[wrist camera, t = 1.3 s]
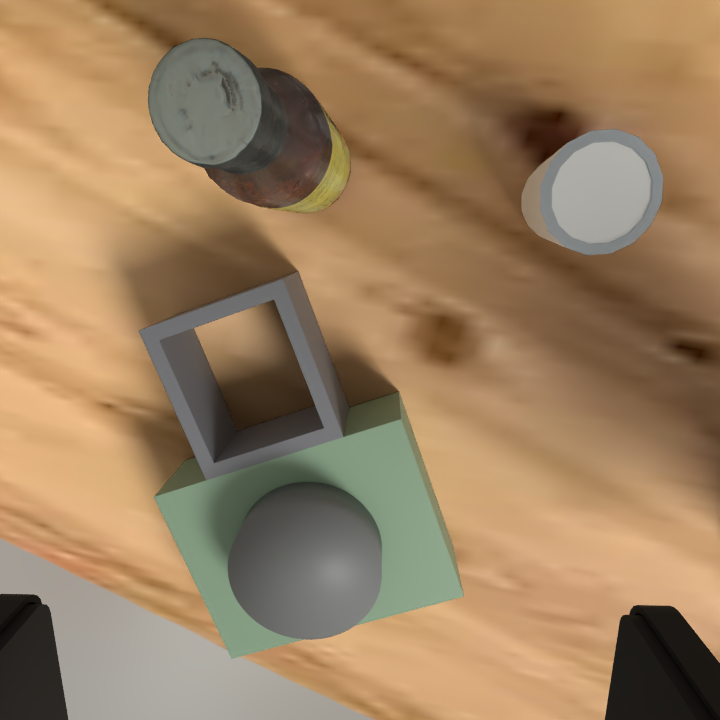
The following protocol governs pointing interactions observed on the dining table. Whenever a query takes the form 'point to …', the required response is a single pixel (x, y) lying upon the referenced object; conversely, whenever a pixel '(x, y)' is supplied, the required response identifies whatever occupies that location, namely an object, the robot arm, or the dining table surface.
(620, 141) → the shot glass
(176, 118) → the sauce bottle
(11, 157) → the dining table surface
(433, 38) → the dining table surface
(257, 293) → the grey and green blocks
